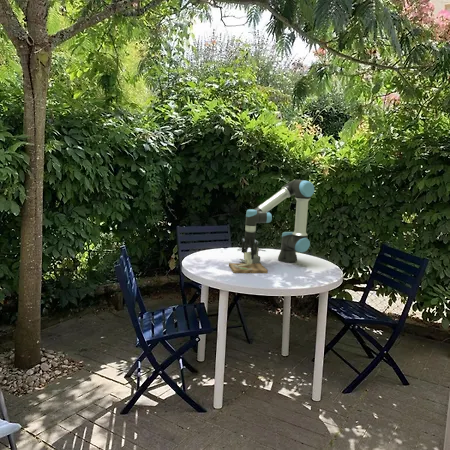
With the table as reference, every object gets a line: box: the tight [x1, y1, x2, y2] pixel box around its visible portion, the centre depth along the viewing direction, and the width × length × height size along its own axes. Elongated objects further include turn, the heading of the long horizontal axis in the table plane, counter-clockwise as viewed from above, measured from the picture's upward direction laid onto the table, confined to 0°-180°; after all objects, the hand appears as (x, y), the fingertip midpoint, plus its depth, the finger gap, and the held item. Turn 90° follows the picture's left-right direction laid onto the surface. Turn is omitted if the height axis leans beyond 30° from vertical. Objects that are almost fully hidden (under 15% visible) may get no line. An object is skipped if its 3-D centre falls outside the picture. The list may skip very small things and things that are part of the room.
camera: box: [238, 246, 261, 263], centre depth 318 cm, size 9×12×15 cm
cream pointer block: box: [238, 251, 251, 267], centre depth 300 cm, size 13×3×10 cm, turn 127°
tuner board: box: [228, 262, 268, 274], centre depth 300 cm, size 24×19×2 cm
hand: (248, 262), depth 302 cm, fingers closed on cream pointer block, 3 cm apart
